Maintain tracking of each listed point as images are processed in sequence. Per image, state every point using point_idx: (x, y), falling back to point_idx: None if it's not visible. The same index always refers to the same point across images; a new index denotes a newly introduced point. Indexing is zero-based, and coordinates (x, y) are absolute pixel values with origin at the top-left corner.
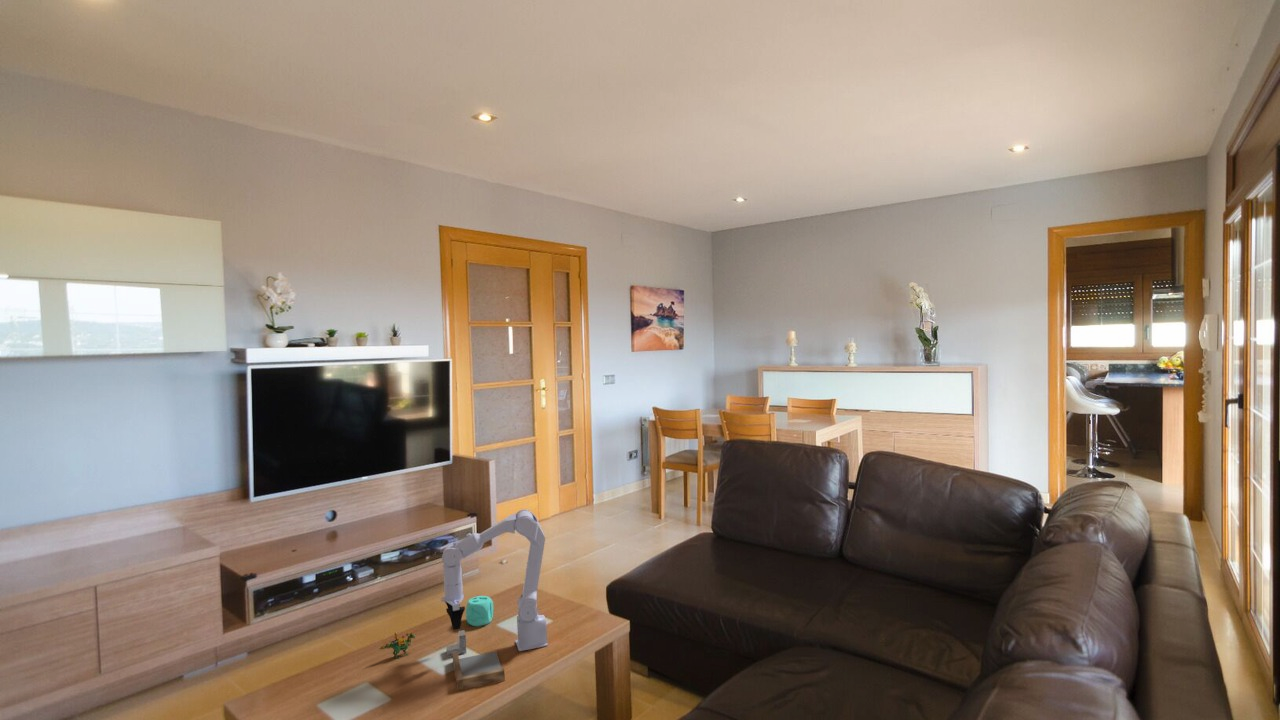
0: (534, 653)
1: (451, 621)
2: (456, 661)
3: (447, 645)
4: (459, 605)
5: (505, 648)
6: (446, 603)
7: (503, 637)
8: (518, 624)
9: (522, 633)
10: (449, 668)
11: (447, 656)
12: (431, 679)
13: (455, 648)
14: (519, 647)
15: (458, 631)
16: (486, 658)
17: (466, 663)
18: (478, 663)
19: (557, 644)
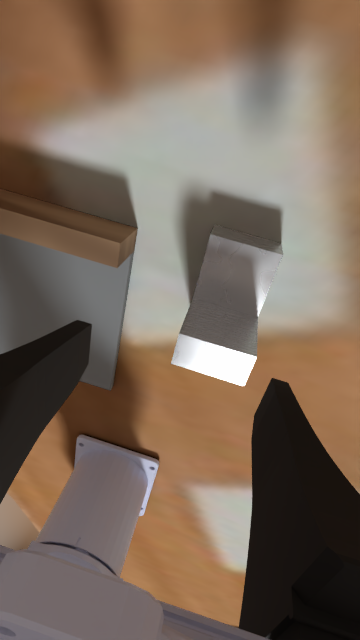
0: (49, 449)
1: (12, 350)
2: (8, 222)
3: (277, 261)
4: (250, 544)
5: (132, 419)
6: (311, 522)
7: (224, 454)
8: (67, 528)
9: (65, 497)
10: (82, 189)
11: (214, 226)
12: (6, 57)
13: (205, 280)
14: (95, 445)
15: (251, 356)
16: None
17: (67, 268)
18: (44, 305)
19: None
